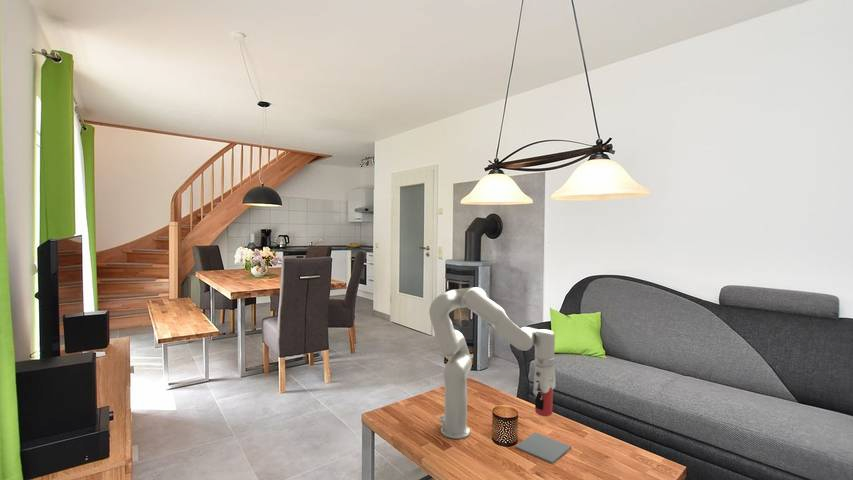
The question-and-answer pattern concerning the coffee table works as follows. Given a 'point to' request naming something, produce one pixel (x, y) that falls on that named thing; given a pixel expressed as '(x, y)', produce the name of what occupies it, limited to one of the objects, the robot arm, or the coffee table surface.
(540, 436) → the slate mat
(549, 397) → the beer can
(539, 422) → the coffee table surface
